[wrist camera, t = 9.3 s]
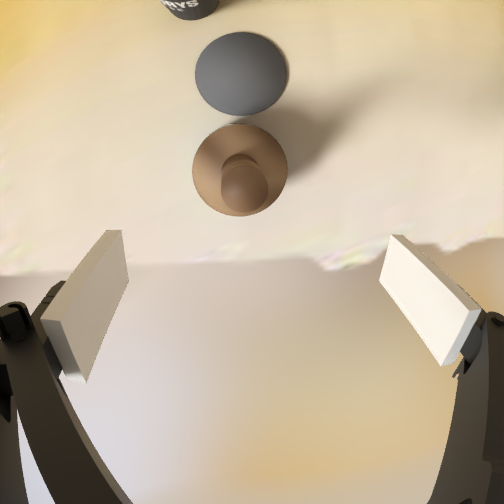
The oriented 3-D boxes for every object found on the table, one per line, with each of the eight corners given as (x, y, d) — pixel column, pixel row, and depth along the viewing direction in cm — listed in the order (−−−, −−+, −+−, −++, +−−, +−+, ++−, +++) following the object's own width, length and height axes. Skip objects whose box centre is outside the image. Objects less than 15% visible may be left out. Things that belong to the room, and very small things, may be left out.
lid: (225, 106, 30) (224, 104, 22) (302, 156, 33) (328, 173, 25) (176, 185, 34) (161, 211, 25) (253, 228, 37) (261, 265, 29)
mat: (227, 18, 29) (227, 18, 29) (302, 63, 33) (303, 63, 32) (178, 88, 33) (177, 88, 33) (254, 132, 36) (254, 132, 36)
